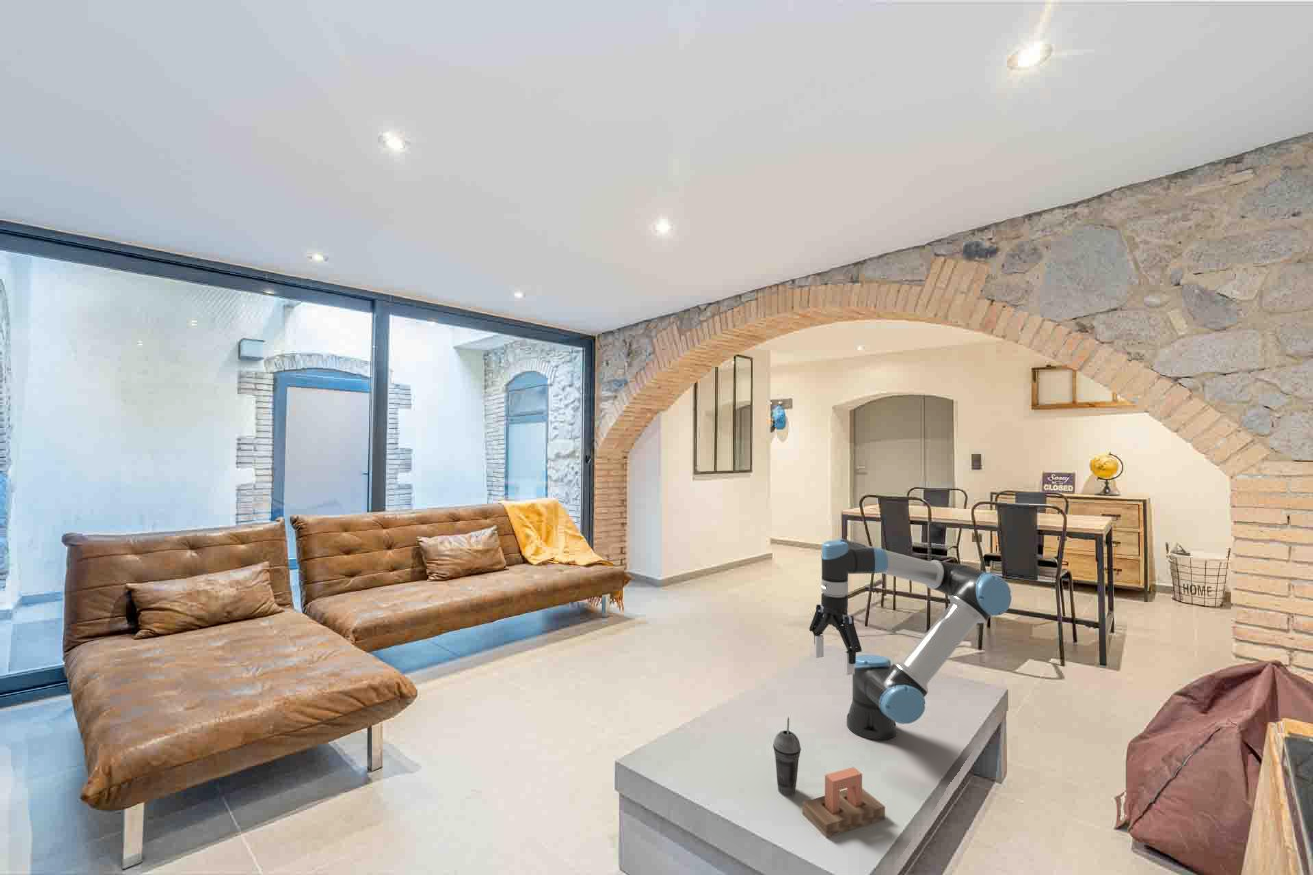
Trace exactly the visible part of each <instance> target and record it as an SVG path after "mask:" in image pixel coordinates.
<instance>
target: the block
mask: <svg viewBox="0 0 1313 875" xmlns="http://www.w3.org/2000/svg"><path fill="white" fill-rule="evenodd" d="M862 788H863V773H862V772H860V771H859V770H858V769H857V768H856V767H852V766H851V767H849V768H845V769H841V770H837V771H834V772H831V773H830V772H829V773H827V774H825V775H824V796H825V808H826V809H827V810H828V811H829V812H830V813H831V814H832V815H834V814H838V813H839V804H840V791H843V790H846V789H847V801H848V802H849V803H850V804H851V805H853V806H854V807H855V808H857V807H861V806H862Z"/></svg>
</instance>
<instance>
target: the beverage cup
mask: <svg viewBox="0 0 1313 875" xmlns="http://www.w3.org/2000/svg"><path fill="white" fill-rule="evenodd" d="M786 722H787V724H786V730H782V731H779V732H778V733H777V734H776V735H775V737H774V739H773V746H772V747H773V752H774V756H775V759H774V760H775V769H776V770H775V771H776V772H775V773H776V784H777V789H778V790H777V791H778V792H779V793H780V794H781V795H783V796H787V797H788V796H793V795H795V794H796V789H797V781H798V769H799V760H800V755H801V750H802V748H801V744H800V740H799V737H797V735H796V733H794V732H792V731H790V717H787V720H786Z"/></svg>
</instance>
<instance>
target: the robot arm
mask: <svg viewBox="0 0 1313 875" xmlns="http://www.w3.org/2000/svg"><path fill="white" fill-rule="evenodd" d="M820 558H821V592H822V593H821V596H820V599H821V603H819V604H816V606H815V612H814V615H813V618H812V620H811V622H810V625H809V632H812V633H813V634H812V635H813V638H814V640H813V643H814V658H816V659H818V658H820V659H821V658H823V657H825V656H824V649H825V648H824V647H825V646H824V644H825V643H824V639H825V638H824V637H825V636H824V632H825V630H826V629H827V627H828V626H831V625H832V627H833V628H836V630H837V631H838V633H839V635H840V637H841V640H842V642H843V644H844V646H845V649H846V651H845V658H844V660H845V665H844V668H845V670H844V675H846V676H850V675H852V702H851V704H850V707H849V711H848V712H847V716H846V727H847V728H848V730H850V732H852V733H853V734H855V735H856V736H860V737H862V738H863V739H864V738H865V739H868V740H876V741H886V740H891V739H893V738H894V737H895V736H896V735H897V724H901V725H907V724H912V723H915V722H916V721H917V720H919V719H920V718H921V717H922V716H923V715H924V712H925V710H926V699H925V697H926V696H927V694H928V693H929V688H928V683H929V682H930V681H931V680H932V679H933V678H934V676H935V675H936V674H937V673H938V671H940V669H941V668H942V667H943V665H944V664H945V663H946V662H947V660H948V659H949V658H950V657H951V656H952V654H953V653H954V652H955V651H956V649H957V648H958V647H959V646H960V645H961V643H962V642H963V641H964V639H965V638H966V637H967V636H968V635H969V633H970V632H971V631H972V630H973V629H974V627H975V626H977V624H985V623H986V622H987V621H988V619H989V618H990V617H993V616H995V617H996V616H1001V615H1003V614H1005V613H1006V612H1007V611H1008V610H1009V609H1010V606H1011V603H1012V594H1011V592H1012V591H1011V588H1010V586H1009V584H1008V583H1007V581H1005V579H1004V578H1003V577H1001V576H999V575H996V574H995V573H992V572H989V571H985V570H981V569H978V568H975V567H972V566H970V565H968V564H967V565H966V564H962V563H961V564H960V563H953V562H947V561H942V560H937V559H933V560H930V561H929V560H926V559H922V558H917V557H914V556H909V555H905V554H902V553H898V552H895V551H894V552H893V551H890V550H886V549H883V548H881V547H874V546H871V545H866V544H862V543H859V542H855V541H851V540H849V539H847V538H837V539H835V540H826V541H824V542H822V546H821V556H820ZM855 574H857V575H859V574H862V575H866V574H873V575H875V574H884V575H888V576H892V577H896V578H900V579H904V580H907V581H910V582H914V583H919V584H923V585H925V586H926V587H927V588H928V589H929V590H934V591H938V592H940V593H942V594H944V595H947V596H948V597H949V602H950V603H949V604H948V606H947V608H946V609H945V610H944V611H943V613H942V614H941V615H940V616H939V617H938V618H937V619H936V621H935V622H934V623H933V625H932V626H931V627H930V628H929V630H927V632H926V633H925V634H924V635H923V636H922V637H921V639H920V640H919V642H918V643H917V644H915V646H914V648H912V650H911V651H910V653H908V654H907V656H906V657H905V658H904V659H903V660H902V661H901V662H894V663H893V664H892V662H891V660H890V658H888V657H886V656H882V655H876V654H860V655H857V653H862V646H861V642H860V640H859V636H858V632H857V629H856V626H855V618H854V616H853V615H847V614H846V610H847V609H848V606H849V605H848V604H849V602H848V600H849V598H848V597H849V596H848V594H849V575H855ZM896 723H897V724H896Z"/></svg>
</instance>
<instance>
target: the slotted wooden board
mask: <svg viewBox="0 0 1313 875" xmlns="http://www.w3.org/2000/svg"><path fill="white" fill-rule="evenodd" d="M802 815H803V816H804V817H805V818H806V819H807V820H808V821H809V822H810V823H811V824H812V825H813V826H814V827H815V828H816V829H817V830H818V831H819V832H820V833H821V834H822V835H823V836H824V837H825V838H829V837H832V836H837V835H838V834H842V833H844V832H848V831H850V830H854V829H858V828H859V827H863V826H867V825H870V824H872V823H876V822H878V821H882V820H884V819H886V806H885V805H884V804H882V803H881V802H880V801H879V800H877V799H876V798H875V797H874V796H873V795H871V794H870V793H869V792H868V791H866V789H863V787H862V806H861V807H857V808H855V807H854V806H853V805H851V804H850V803H849V802H848V801H847V788H845V789H842V790H840V804H839V813H838V814H834V815H832V814H831V813H830V812H829V811H828V810H827V809H826V808H825V795H823V796H822V795H821V796H819V797H816V798H812V799H809V800H806V801H802Z"/></svg>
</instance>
